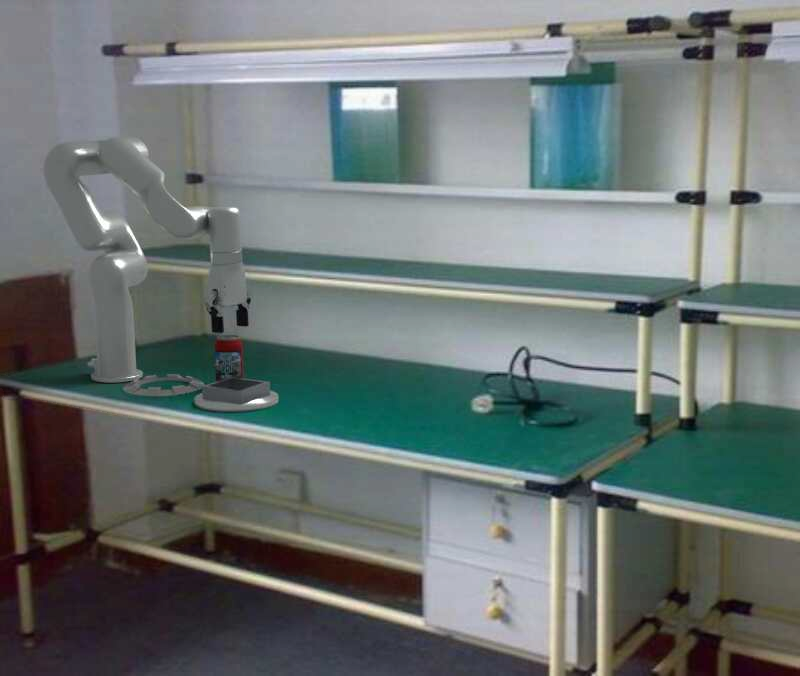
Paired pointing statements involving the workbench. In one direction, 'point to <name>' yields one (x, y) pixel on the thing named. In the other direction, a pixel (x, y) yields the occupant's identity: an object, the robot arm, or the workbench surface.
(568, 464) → the workbench surface
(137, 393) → the ring
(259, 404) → the rosette plate
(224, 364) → the beverage can
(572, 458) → the workbench surface
